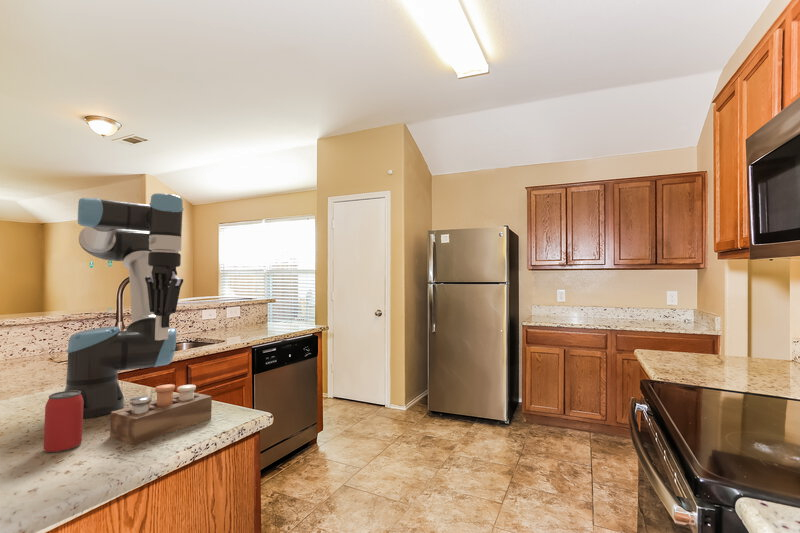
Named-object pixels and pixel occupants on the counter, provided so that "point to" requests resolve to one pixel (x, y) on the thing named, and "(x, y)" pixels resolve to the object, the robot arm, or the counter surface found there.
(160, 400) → the peach round knob
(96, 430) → the counter surface
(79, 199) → the robot arm
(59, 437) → the beer can
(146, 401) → the plunger grey
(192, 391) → the plunger white
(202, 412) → the button block
